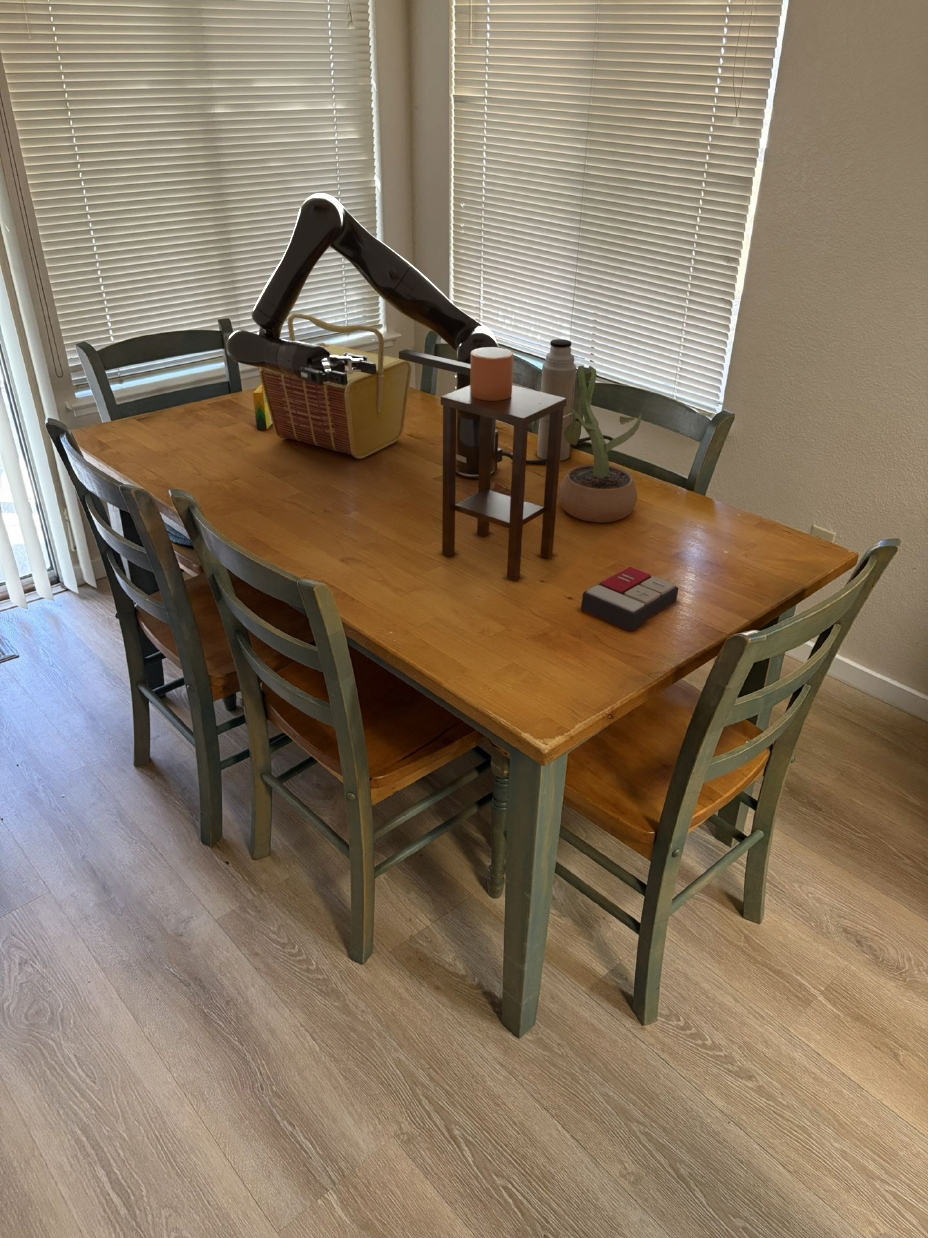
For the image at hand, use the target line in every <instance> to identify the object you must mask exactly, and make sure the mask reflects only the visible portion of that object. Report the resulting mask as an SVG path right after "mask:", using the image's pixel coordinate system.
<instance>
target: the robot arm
mask: <svg viewBox="0 0 928 1238" xmlns="http://www.w3.org/2000/svg"><path fill="white" fill-rule="evenodd" d="M329 248H331V249H332V250H334V251H335V252H336V253H338V254H339V255H341V256H342V257H343V258H344V259H345V260H347V261H348V262H349V263H350V264H351V265H352V266H353V268H355V269H356V271H357V272H358V273H359V274H360V276H361V277H362V278H363V280H364V281H366V283H367V284H368V285H369V287H371V288H372V290H373V291H374V292H375V294H377V295H378V296H379V297H380V298H381V299H383V300H384V301H385V302H386V303H387V304H388V305H390V306H391V307H392V308H394V309H395V310H396V311H397V312H398V313H400V314H401V315H403V316H404V317H406V318H408V319H409V320H412V321H414V322H415V323H417V324H419V325H422V326H424V327H425V328H427V329H429V330H431V331H432V332H434V333H435V334H436V335H437V336H439V337H440V338H441V339H442V340H443V341H444V342H445V343H447V345H448V346H449V347H450V348H451V349H452V350H453V351H454V352H455V353H456V361H458V362H463V363H467V364H471V351H473V350H475V349H478V348H484V347H497V348H500V347H499V343H498V341H497V338H496V336H495V334H494V332H493V331H492V330H491V329H489V328H488V327H487V326H485V325H484V324H482V323H481V322H479V321H477V320H476V319H475V318H473V317H471V316H470V315H468V313H466V312H464V310H462V309H460V308H459V307H457V305H455V304H454V303H453V302H452V301H451V300H450V299H449V298H448V297H447V296H446V295H445V294H444V293H443V292H442V291H441V290H440V289H439V288H438V287H437V286H436V285H435V284H434V283H432V281H430V280H429V279H428V277H426V276H425V275H424V274H423V273H422V272H421V271H419V270H418V268H416V267H415V266H414V265H413V264H411V263H410V262H409V261H408V260H406V259H405V258H403V256H401V255H400V254H398V253H397V252H396V251H395V250H393V249H392V248H391V247H389V246H388V245H387V244H385V243H384V242H382V241H381V240H380V239H379V238H377V237H375V236H374V235H373V234H372V233H370V232H369V231H368V230H367V229H366V228H365V227H364V226H362V224H361V223H360V222H359V221H358V220H357V219H356V218H355V217H354V216H353V215H352V214H351V213H350V212H349V211H348V210H347V209H346V208H345V207H344V206H343V204H342V203H340V201H338V199H337V198H335V197H334V196H332V195H330V194H328V193H322V192H321V193H319V192H318V193H314V194H312V195H310V196H309V197H307V198H306V199H305V200H304V202H303V203H302V205H301V206H300V208H299V211H298V213H297V219H296V222H295V226H294V229H293V232H292V235H291V237H290V241H289V243H288V245H287V248H286V250H285V253H284V254H283V256H282V258H281V260H280V262H279V263H278V264H277V267H276V268H275V270H274V271H273V272H272V275H270V278H269V279H268V281H267V282H266V284H265V286H264V288H263V289H262V291H261V293H260V295H259V297H258V299H257V301H256V302H255V305H254V306H253V308H252V311H251V319H252V320H253V322H254V323H255V324H256V325H257V326H258V327H259V329H258V331H257V332H253V331H249V330H245V329H239V330H236V331H234V332H232V333H231V334H230V335H229V336H228V338H227V340H226V343H225V346H226V352H227V355H228V356H229V357H230V358H231V360H233V361H234V362H235V363H238V364H242V365H246V366H251V367H255V368H260V367H263V368H267V369H269V370H272V371H275V372H278V373H282V374H286V375H288V376H291V377H294V378H298V379H302V380H303V381H307V382H310V383H314V384H317V385H323V382H326V383H337V384H341V385H346V384H347V383H348V381H347V374H352V373H353V372H363V373H367V374H372V375H374V374H376V373H377V371H376V364H375V363H371V362H367V356H362V355H357V354H351V353H344V356H337V355H331V354H330V353H329V352H328V350H327V349H326V348H324V347H322V346H318V345H314V344H313V343H308V342H304V341H299V340H295V341H290V339H285V338H281V336H282V330H283V327H284V325H285V323H286V321H288V317H289V316H290V315H291V313H292V311H293V308H294V307H295V305H296V303H297V301H298V299H299V297H300V294H301V292H302V290H303V288H304V286H305V284H306V283H307V282H306V281H307V280H308V278H309V276H310V274H311V273H312V271H313V270H314V268H315V266H316V265H317V263H318V262H319V260H320V259H321V258H322V257H323V255H324V254H325V252H326V251H327V250H328V249H329ZM345 366H347V367H348V369H349V370H345ZM353 367H355V368H353ZM469 385H470V376H468V375H464V374H460V373H456V390H459V389H462V388H464V387H467V386H469ZM456 390H455V391H456ZM496 429H497V420H496V419H493V425H492V455H491V476H493V475H494V474H495V472H496V471H497V470H498V463H501V462H503V456H504V457H507V458H509V459H510V460H511V461H512V457H513V453H509V452H506V451H504V449H503V448H500V447H499V434H500V433H499V431H498V430H496ZM602 435H603V438H604V440H607V441H609V442H610V441H611V440H613V439H614V438H613V437H612V436H609V435H607V434H602ZM589 441H591V439H590V437H589V436H586V437H582V438H581V437H580V438H579V440H578V442H577V444H579V443H584V442H589ZM479 443H480V415H477V414H474V413H470V412H466V411H462V410H459V409H456V475H458V476H461V477H463V478H468V479H479ZM571 447H574V445H572V444H570V448H571ZM540 464H547V459H542V458H541V459H526V465H540Z"/></svg>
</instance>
